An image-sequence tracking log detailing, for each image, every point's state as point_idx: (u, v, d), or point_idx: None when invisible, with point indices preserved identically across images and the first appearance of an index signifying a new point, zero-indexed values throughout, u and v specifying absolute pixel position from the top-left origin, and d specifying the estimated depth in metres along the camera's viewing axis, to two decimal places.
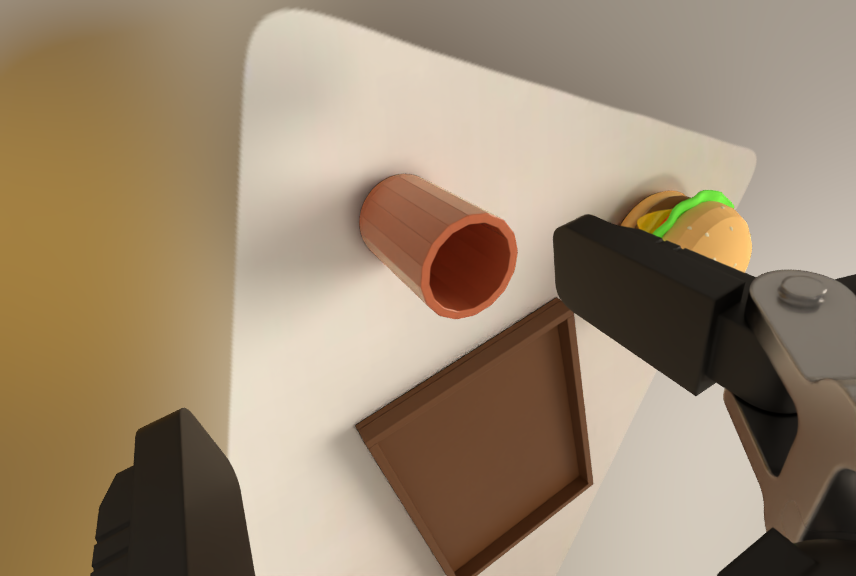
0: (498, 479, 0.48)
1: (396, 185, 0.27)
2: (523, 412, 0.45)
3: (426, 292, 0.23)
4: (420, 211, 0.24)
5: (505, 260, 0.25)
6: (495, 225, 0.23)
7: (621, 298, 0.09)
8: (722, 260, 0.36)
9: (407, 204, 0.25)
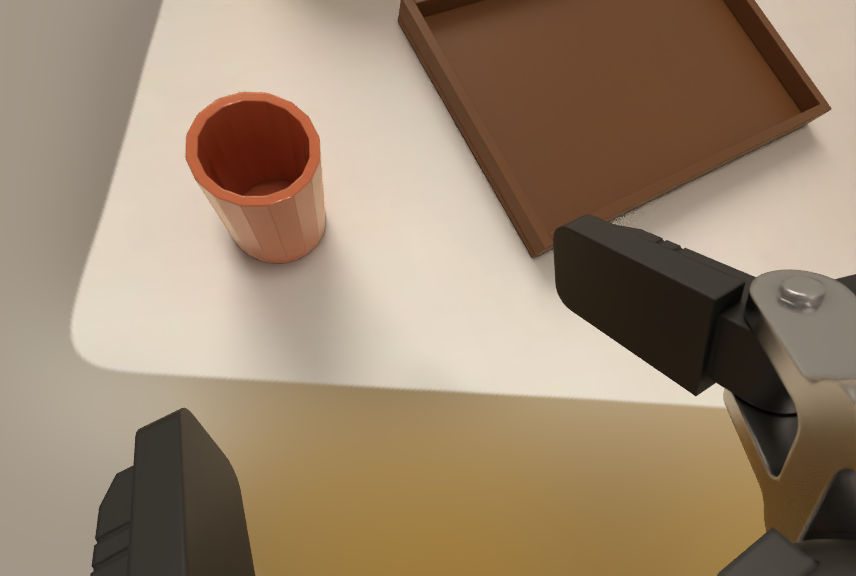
0: (657, 66, 0.37)
1: None
2: (556, 44, 0.36)
3: (276, 198, 0.20)
4: (213, 207, 0.22)
5: (255, 105, 0.22)
6: (202, 123, 0.21)
7: (621, 298, 0.09)
8: None
9: (222, 219, 0.24)
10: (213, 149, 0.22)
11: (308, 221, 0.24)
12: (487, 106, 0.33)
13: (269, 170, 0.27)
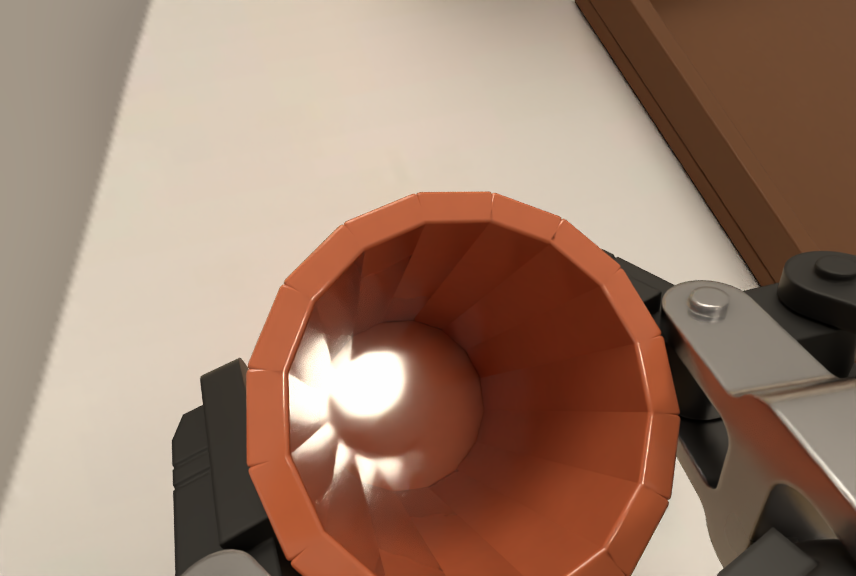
0: None
1: None
2: (833, 39, 0.21)
3: None
4: None
5: (453, 230, 0.07)
6: (302, 318, 0.06)
7: None
8: None
9: None
10: (311, 352, 0.07)
11: None
12: None
13: (393, 314, 0.13)
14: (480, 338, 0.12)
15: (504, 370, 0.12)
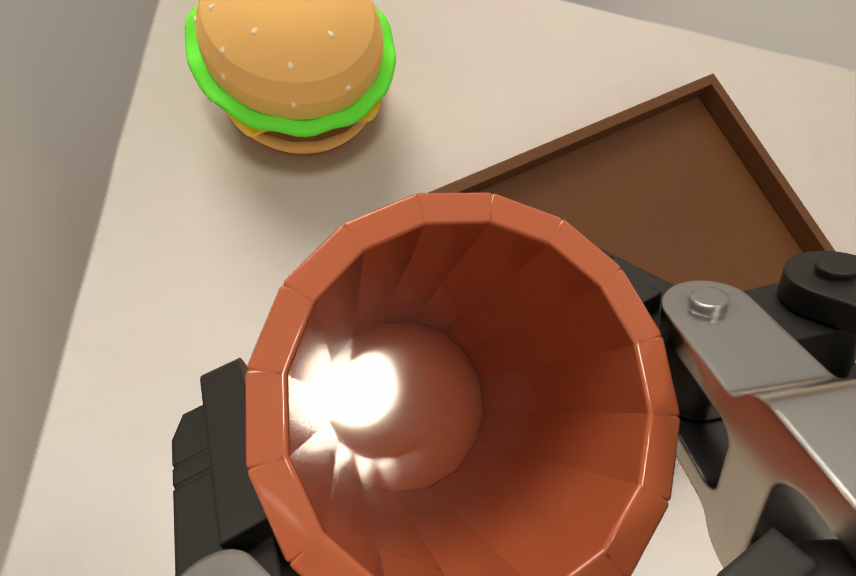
0: (671, 258, 0.33)
1: None
2: None
3: None
4: None
5: (453, 231, 0.07)
6: (302, 320, 0.06)
7: None
8: (255, 15, 0.23)
9: None
10: (311, 353, 0.07)
11: None
12: None
13: (393, 314, 0.13)
14: (480, 339, 0.12)
15: (504, 371, 0.12)
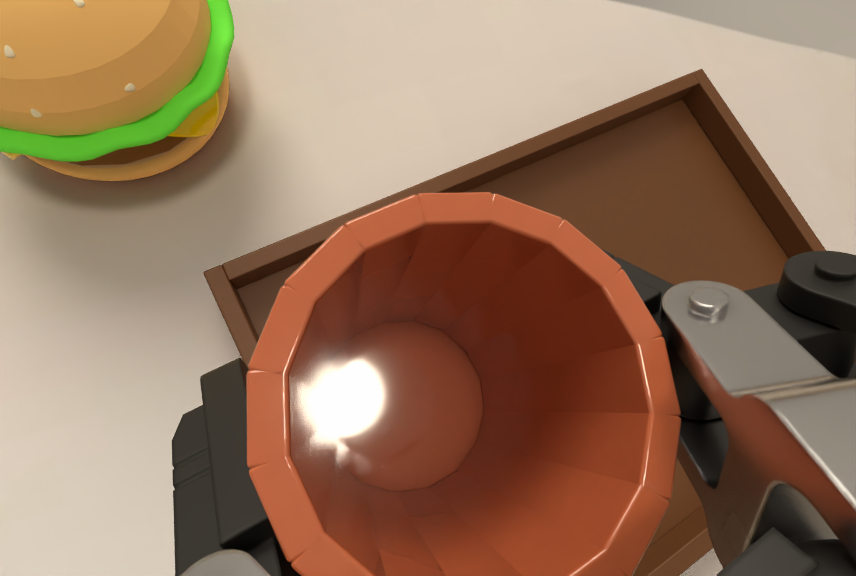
0: None
1: None
2: None
3: None
4: None
5: (454, 231, 0.07)
6: (302, 320, 0.06)
7: None
8: None
9: None
10: (311, 353, 0.07)
11: None
12: None
13: (393, 314, 0.13)
14: (480, 338, 0.12)
15: (504, 371, 0.12)
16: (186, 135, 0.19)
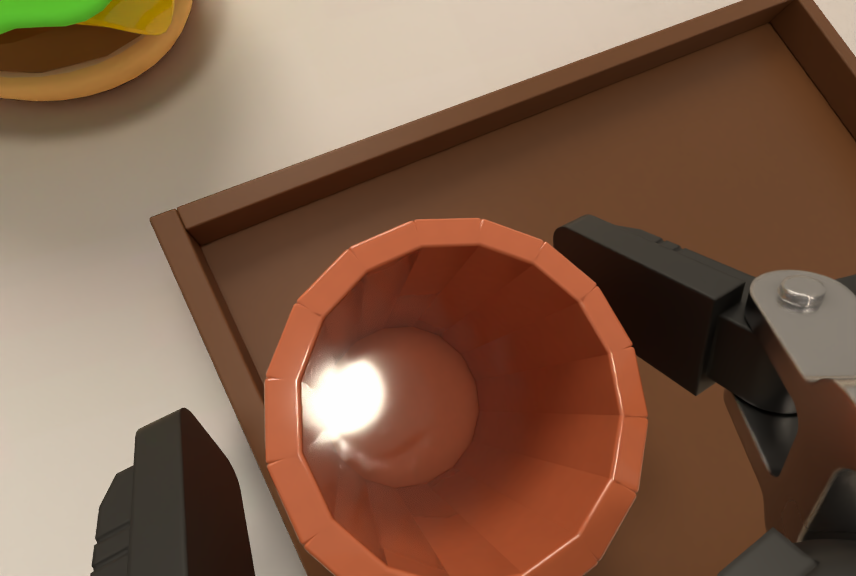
0: None
1: None
2: None
3: None
4: None
5: (447, 252, 0.08)
6: (313, 333, 0.07)
7: (621, 298, 0.09)
8: None
9: None
10: (319, 360, 0.08)
11: None
12: None
13: (393, 321, 0.14)
14: (475, 344, 0.13)
15: (497, 374, 0.13)
16: (127, 28, 0.14)
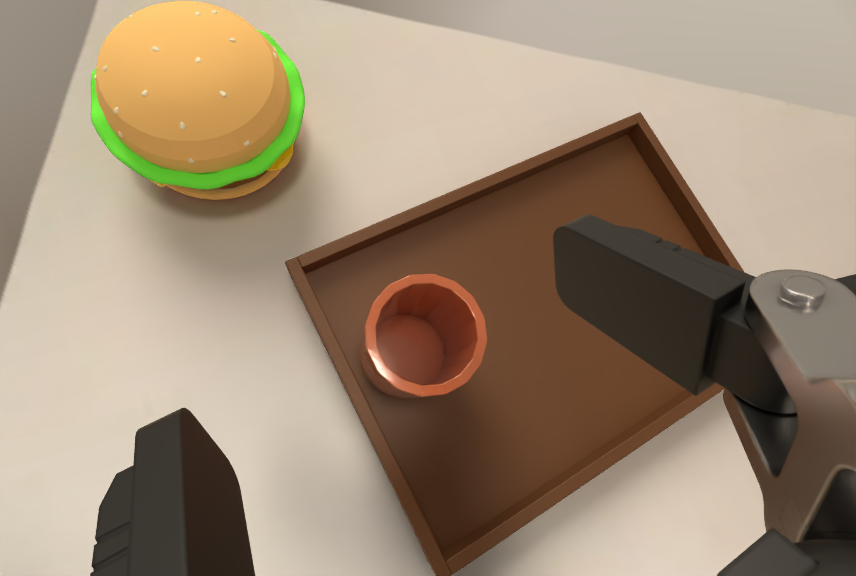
0: None
1: (366, 373, 0.27)
2: (473, 284, 0.32)
3: (452, 385, 0.21)
4: (376, 378, 0.23)
5: (421, 285, 0.22)
6: (379, 312, 0.21)
7: (621, 298, 0.09)
8: (144, 77, 0.23)
9: (375, 380, 0.25)
10: None
11: None
12: None
13: (401, 311, 0.28)
14: (440, 322, 0.28)
15: (449, 335, 0.27)
16: (272, 169, 0.29)
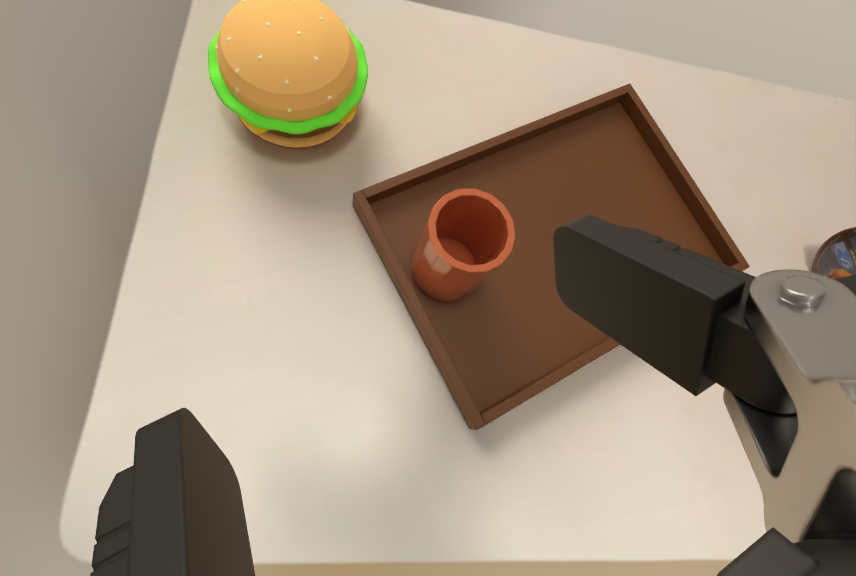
0: None
1: (418, 277, 0.35)
2: None
3: (491, 265, 0.29)
4: (432, 268, 0.31)
5: (467, 197, 0.31)
6: (437, 213, 0.30)
7: (621, 298, 0.09)
8: (260, 45, 0.31)
9: (429, 274, 0.33)
10: None
11: None
12: None
13: (443, 231, 0.36)
14: (474, 239, 0.36)
15: (482, 248, 0.35)
16: (342, 122, 0.37)
